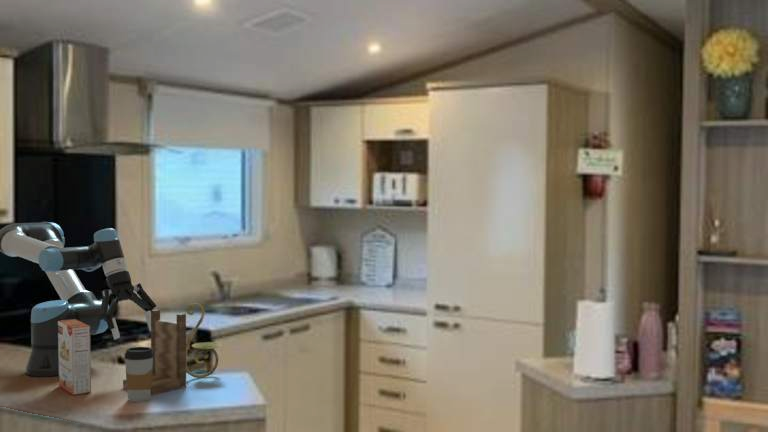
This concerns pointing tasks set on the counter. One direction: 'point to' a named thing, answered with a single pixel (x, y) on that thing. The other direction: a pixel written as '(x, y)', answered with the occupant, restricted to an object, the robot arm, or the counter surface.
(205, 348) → the wall sconce
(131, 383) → the coffee cup
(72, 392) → the cracker box
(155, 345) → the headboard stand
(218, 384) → the counter surface
